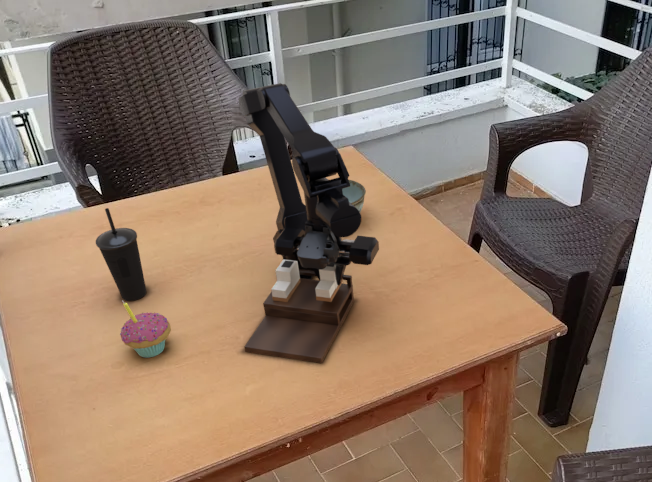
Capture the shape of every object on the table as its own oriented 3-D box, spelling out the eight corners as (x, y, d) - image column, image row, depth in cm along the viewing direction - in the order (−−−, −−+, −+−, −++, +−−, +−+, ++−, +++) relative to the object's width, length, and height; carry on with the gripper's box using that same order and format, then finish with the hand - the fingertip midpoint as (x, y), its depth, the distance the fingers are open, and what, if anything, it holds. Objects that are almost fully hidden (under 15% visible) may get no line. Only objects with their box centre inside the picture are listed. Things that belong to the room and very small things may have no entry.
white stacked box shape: (328, 279, 135) (326, 257, 132) (343, 281, 135) (340, 259, 132) (316, 300, 130) (313, 278, 127) (331, 302, 129) (328, 280, 126)
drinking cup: (161, 288, 144) (136, 203, 132) (135, 308, 138) (106, 222, 126) (133, 280, 146) (106, 196, 135) (106, 299, 141) (76, 214, 129)
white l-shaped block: (286, 280, 138) (283, 258, 135) (300, 281, 137) (297, 260, 134) (272, 300, 133) (268, 278, 130) (287, 302, 132) (283, 280, 129)
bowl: (298, 226, 163) (294, 196, 159) (333, 202, 172) (330, 173, 168) (345, 241, 157) (342, 210, 153) (378, 216, 167) (376, 186, 162)
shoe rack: (245, 351, 127) (239, 324, 123) (285, 292, 142) (280, 266, 138) (321, 363, 124) (318, 335, 120) (354, 301, 139) (351, 275, 135)
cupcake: (131, 370, 123) (112, 317, 116) (124, 343, 130) (105, 291, 122) (179, 354, 127) (164, 302, 119) (170, 329, 133) (155, 278, 126)
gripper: (255, 229, 119) (269, 301, 128) (358, 240, 115) (364, 314, 124) (280, 199, 127) (291, 268, 137) (377, 208, 124) (382, 279, 133)
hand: (331, 283), depth 132 cm, fingers closed on white stacked box shape, 3 cm apart
